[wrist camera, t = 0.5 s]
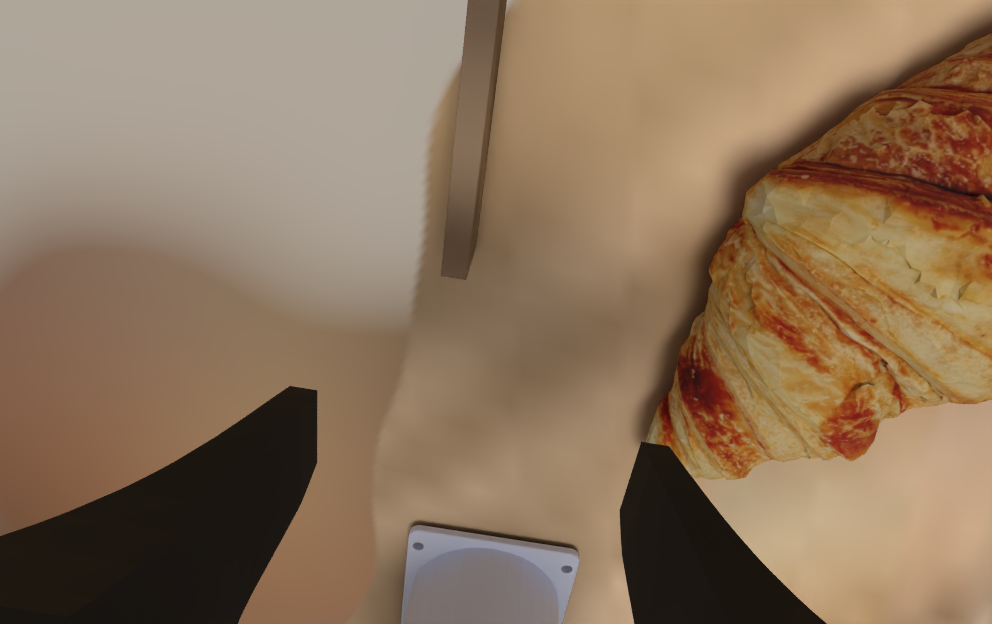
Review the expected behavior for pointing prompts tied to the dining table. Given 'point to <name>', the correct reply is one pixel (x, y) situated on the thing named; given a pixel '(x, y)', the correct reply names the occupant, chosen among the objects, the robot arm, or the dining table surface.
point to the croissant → (848, 285)
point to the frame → (472, 132)
